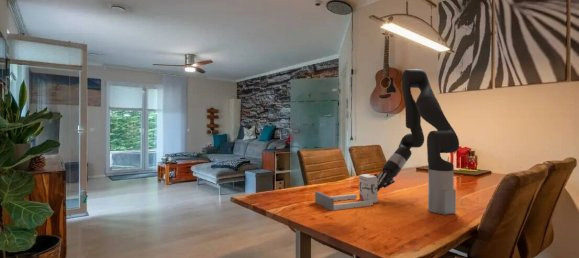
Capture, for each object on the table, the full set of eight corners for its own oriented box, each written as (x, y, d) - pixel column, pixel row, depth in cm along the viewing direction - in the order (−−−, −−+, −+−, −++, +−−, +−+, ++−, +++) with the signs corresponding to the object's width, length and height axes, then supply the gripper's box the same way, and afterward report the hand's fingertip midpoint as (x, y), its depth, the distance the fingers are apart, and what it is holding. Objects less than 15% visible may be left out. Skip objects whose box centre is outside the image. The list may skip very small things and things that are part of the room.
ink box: (358, 199, 143) (358, 174, 143) (367, 198, 145) (367, 173, 145) (368, 203, 135) (368, 177, 135) (378, 202, 137) (378, 176, 137)
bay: (372, 205, 132) (373, 194, 132) (330, 210, 124) (330, 198, 124) (354, 198, 145) (354, 187, 145) (315, 202, 137) (315, 191, 137)
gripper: (381, 158, 151) (360, 184, 146) (399, 161, 138) (377, 189, 134) (389, 168, 153) (369, 194, 148) (408, 172, 140) (387, 200, 136)
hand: (373, 192), depth 141 cm, fingers closed
